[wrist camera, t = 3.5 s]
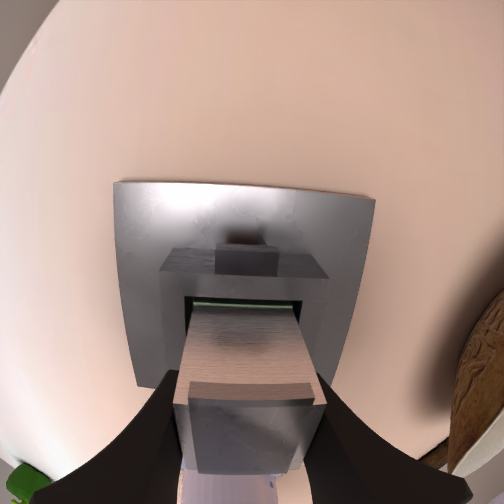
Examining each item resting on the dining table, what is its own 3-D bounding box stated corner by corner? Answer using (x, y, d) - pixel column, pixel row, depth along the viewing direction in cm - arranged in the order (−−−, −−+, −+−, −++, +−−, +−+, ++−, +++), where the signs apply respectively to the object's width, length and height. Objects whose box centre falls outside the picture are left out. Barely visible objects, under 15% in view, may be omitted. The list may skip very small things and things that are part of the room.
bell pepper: (63, 488, 27) (52, 527, 18) (30, 473, 26) (16, 508, 17) (45, 470, 25) (30, 512, 15) (11, 452, 24) (-6, 490, 14)
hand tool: (449, 432, 26) (462, 454, 21) (453, 437, 27) (465, 457, 22) (341, 497, 29) (347, 519, 25) (351, 498, 30) (358, 519, 26)
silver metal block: (277, 372, 14) (298, 471, 8) (197, 370, 13) (185, 472, 8) (291, 294, 12) (331, 396, 6) (194, 290, 12) (169, 395, 6)
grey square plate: (325, 382, 18) (340, 423, 15) (140, 376, 17) (127, 418, 13) (367, 196, 14) (407, 211, 10) (120, 180, 13) (84, 191, 9)
